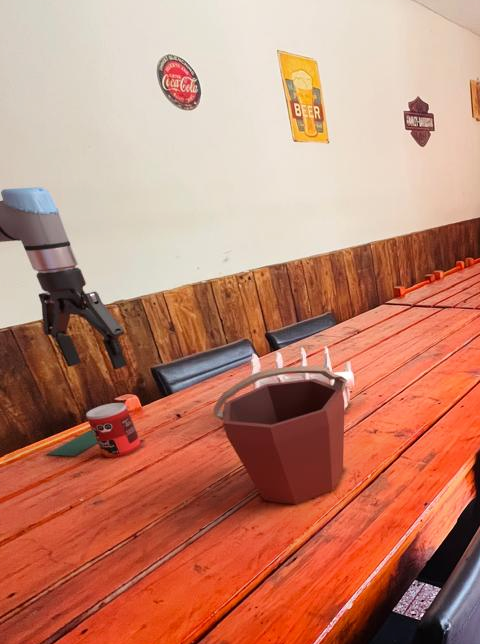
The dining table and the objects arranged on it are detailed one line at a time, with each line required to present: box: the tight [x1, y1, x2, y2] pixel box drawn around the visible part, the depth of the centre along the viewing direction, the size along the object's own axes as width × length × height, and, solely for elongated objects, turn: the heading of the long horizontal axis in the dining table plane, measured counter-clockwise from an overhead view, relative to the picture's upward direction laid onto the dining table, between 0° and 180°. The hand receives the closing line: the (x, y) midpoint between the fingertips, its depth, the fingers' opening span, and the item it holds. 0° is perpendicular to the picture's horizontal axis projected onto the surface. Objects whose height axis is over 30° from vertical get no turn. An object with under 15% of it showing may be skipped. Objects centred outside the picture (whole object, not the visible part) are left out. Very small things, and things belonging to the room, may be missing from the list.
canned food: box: [85, 402, 141, 458], centre depth 123 cm, size 8×8×11 cm
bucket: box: [212, 365, 347, 505], centre depth 102 cm, size 24×22×25 cm
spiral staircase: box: [250, 345, 355, 412], centre depth 135 cm, size 18×18×25 cm
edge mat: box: [47, 429, 98, 457], centre depth 130 cm, size 8×14×1 cm, turn 169°
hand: (97, 366), depth 115 cm, fingers open, 13 cm apart
